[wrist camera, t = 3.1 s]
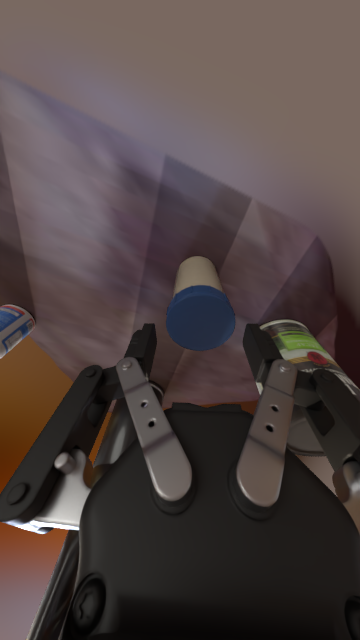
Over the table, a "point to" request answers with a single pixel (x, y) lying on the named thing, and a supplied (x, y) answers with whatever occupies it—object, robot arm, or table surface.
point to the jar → (196, 274)
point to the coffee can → (305, 357)
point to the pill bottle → (13, 326)
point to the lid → (200, 318)
